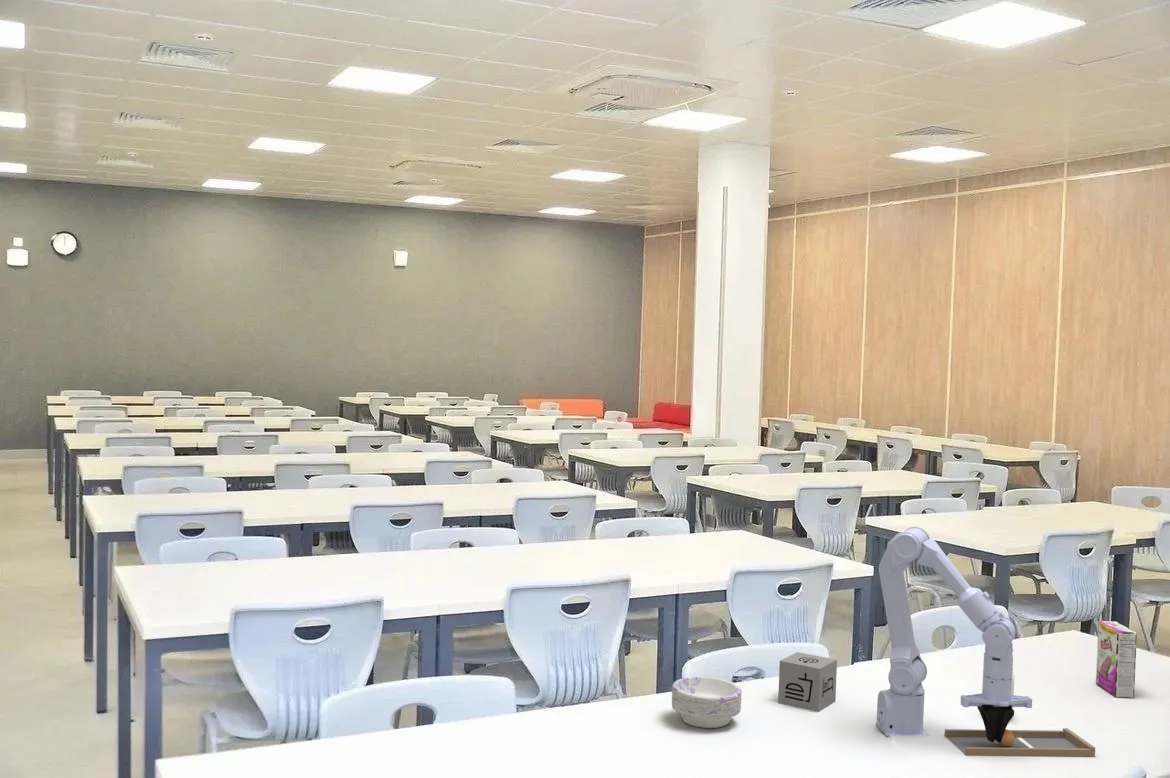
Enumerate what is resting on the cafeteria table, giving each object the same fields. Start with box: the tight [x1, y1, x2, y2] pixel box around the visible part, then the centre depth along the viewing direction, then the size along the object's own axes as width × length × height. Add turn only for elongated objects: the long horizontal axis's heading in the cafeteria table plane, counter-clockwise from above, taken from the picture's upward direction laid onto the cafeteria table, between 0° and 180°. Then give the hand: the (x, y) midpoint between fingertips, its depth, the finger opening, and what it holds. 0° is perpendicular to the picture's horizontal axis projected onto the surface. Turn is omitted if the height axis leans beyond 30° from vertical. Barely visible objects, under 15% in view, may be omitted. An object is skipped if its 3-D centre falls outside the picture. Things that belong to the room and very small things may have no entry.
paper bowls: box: [671, 676, 743, 729], centre depth 243 cm, size 15×15×8 cm
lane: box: [944, 727, 1096, 758], centre depth 232 cm, size 27×12×2 cm, turn 93°
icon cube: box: [777, 651, 838, 713], centre depth 259 cm, size 10×10×10 cm
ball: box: [998, 728, 1014, 747], centre depth 231 cm, size 4×4×4 cm
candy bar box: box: [1095, 620, 1138, 699], centre depth 275 cm, size 11×5×16 cm, turn 179°
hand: (994, 740), depth 231 cm, fingers closed
